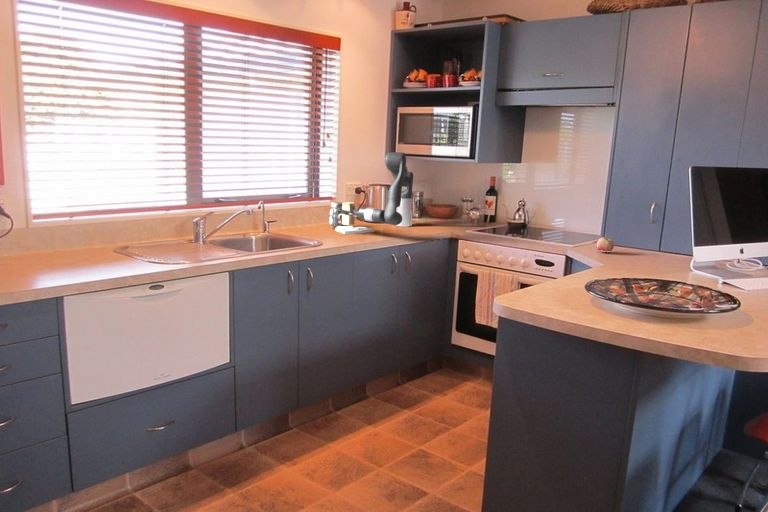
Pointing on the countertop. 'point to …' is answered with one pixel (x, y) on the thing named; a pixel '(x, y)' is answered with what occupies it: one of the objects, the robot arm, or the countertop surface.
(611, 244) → the fruit
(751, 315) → the countertop surface
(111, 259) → the countertop surface
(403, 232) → the countertop surface
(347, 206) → the light wooden block
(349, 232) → the baseplate
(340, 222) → the camera
